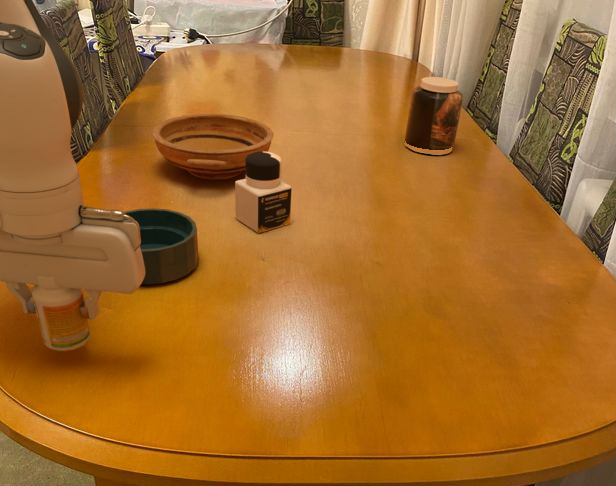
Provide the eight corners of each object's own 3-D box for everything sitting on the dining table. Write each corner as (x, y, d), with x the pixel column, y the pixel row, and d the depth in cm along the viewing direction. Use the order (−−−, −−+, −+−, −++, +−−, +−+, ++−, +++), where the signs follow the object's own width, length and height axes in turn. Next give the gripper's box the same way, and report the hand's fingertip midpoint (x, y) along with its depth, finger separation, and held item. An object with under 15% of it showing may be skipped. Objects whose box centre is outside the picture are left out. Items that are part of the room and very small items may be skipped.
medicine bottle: (258, 234, 104) (258, 165, 97) (234, 219, 108) (233, 152, 101) (290, 224, 108) (293, 157, 100) (267, 210, 112) (268, 145, 105)
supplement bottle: (100, 336, 74) (88, 266, 68) (65, 358, 70) (49, 286, 64) (69, 320, 76) (55, 252, 70) (33, 341, 72) (15, 270, 66)
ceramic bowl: (169, 143, 138) (166, 106, 133) (275, 149, 139) (276, 113, 134) (141, 194, 114) (136, 152, 109) (269, 201, 115) (270, 159, 110)
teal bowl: (90, 283, 88) (83, 246, 85) (121, 239, 100) (116, 205, 96) (187, 291, 88) (184, 254, 84) (206, 246, 99) (204, 212, 96)
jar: (399, 151, 142) (409, 83, 133) (408, 136, 151) (418, 72, 142) (449, 159, 140) (462, 90, 131) (456, 144, 149) (469, 79, 140)
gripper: (146, 199, 65) (156, 307, 73) (-42, 181, 65) (-10, 291, 74) (128, 225, 60) (141, 337, 68) (-76, 205, 60) (-38, 320, 69)
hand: (61, 313), depth 71 cm, fingers closed on supplement bottle, 5 cm apart
